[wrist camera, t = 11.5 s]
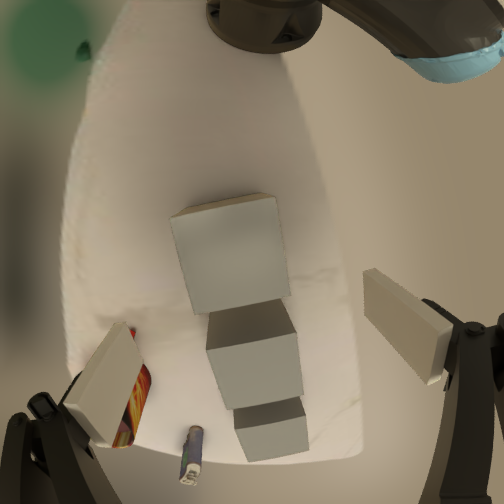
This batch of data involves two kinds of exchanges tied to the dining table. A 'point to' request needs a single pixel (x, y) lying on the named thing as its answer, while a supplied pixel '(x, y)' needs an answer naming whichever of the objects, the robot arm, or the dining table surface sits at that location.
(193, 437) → the flask
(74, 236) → the dining table surface
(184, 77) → the dining table surface
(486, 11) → the robot arm
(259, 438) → the large plain grey block
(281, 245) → the pale grey cube
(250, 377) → the pale gray cube
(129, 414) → the mug
